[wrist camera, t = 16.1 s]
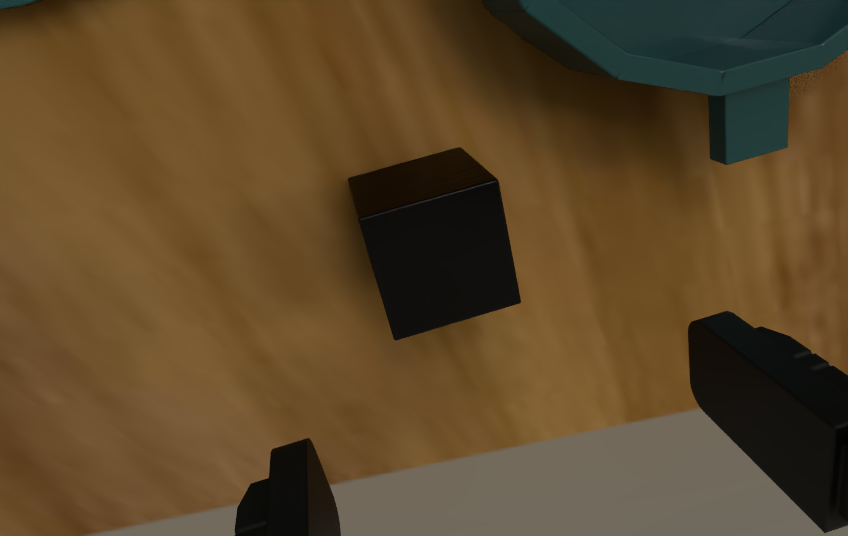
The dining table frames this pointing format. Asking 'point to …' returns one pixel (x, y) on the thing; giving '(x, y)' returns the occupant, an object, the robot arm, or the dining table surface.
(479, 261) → the block
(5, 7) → the lid
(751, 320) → the dining table surface
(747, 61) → the teal tabbed round part
